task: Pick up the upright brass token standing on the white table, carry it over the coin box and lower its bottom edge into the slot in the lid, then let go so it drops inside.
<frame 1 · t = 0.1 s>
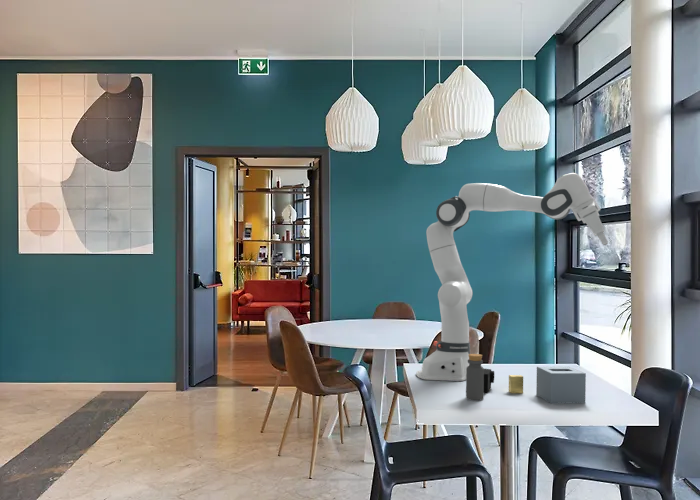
hand: (606, 244, 216), 54 cm above the table, tool tilted 30°, fingers open, 8 cm apart
coin box: (560, 398, 202), on the table
digital camera: (485, 390, 214), on the table
token: (515, 392, 211), on the table
bottle: (474, 399, 200), on the table
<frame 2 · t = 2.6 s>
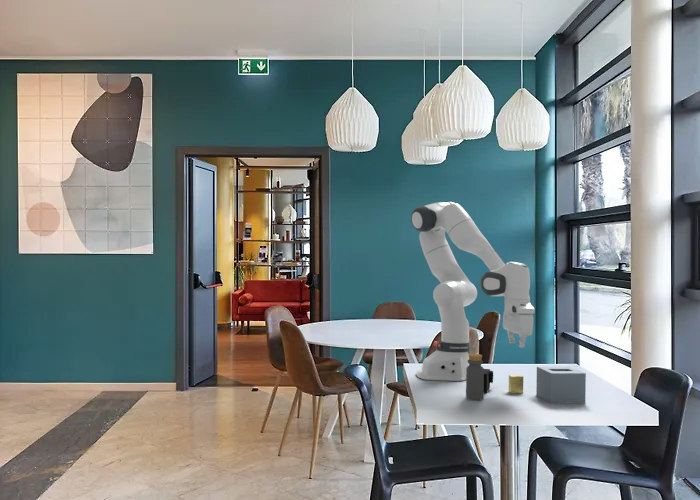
hand: (516, 345, 211), 17 cm above the table, tool pointing down, fingers open, 8 cm apart
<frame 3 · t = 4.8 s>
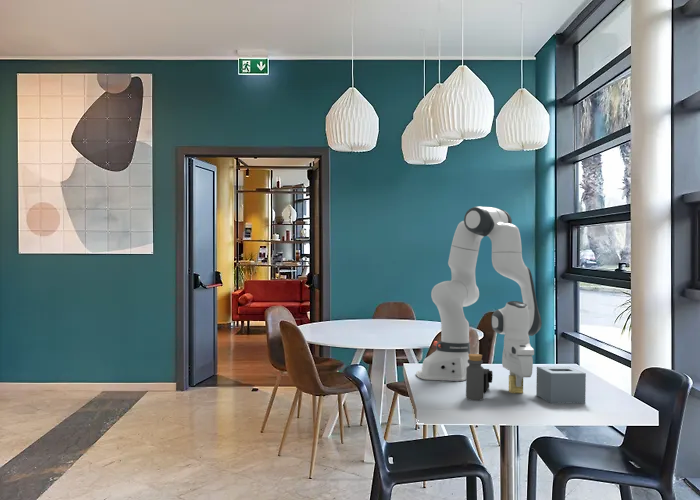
hand: (515, 385, 211), 3 cm above the table, tool pointing down, fingers closed on token, 2 cm apart
token: (515, 392, 211), on the table, touching gripper
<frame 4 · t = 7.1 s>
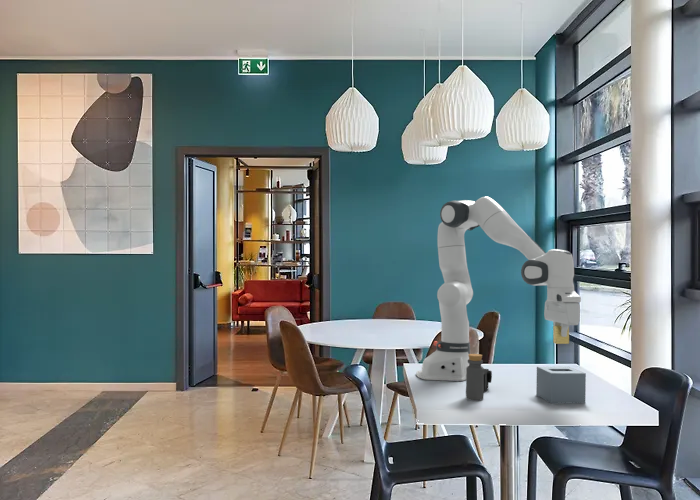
hand: (560, 335, 202), 22 cm above the table, tool pointing down, fingers closed on token, 2 cm apart
token: (561, 343, 202), point 19 cm above the table, touching gripper
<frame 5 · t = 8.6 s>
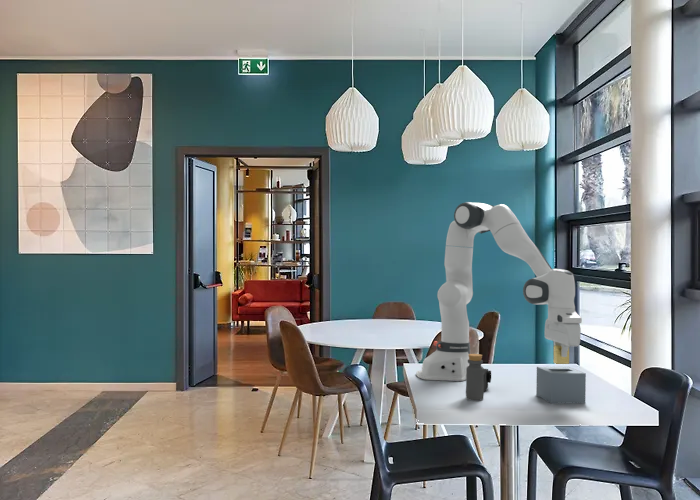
hand: (561, 355, 202), 15 cm above the table, tool pointing down, fingers closed on token, 2 cm apart
token: (561, 363, 202), point 12 cm above the table, touching gripper
when the fingers open (12 cm above the table, at t = 9.6 s): token drops 9 cm, resting in coin box.
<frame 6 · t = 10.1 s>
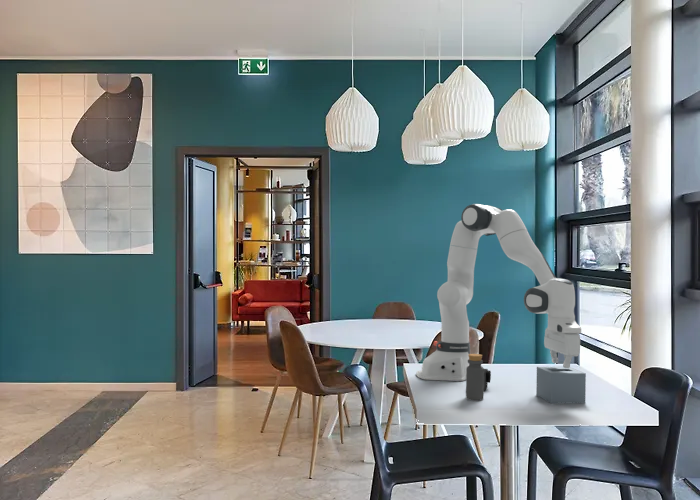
hand: (560, 365, 202), 12 cm above the table, tool pointing down, fingers open, 8 cm apart
token: (560, 399, 202), resting in coin box
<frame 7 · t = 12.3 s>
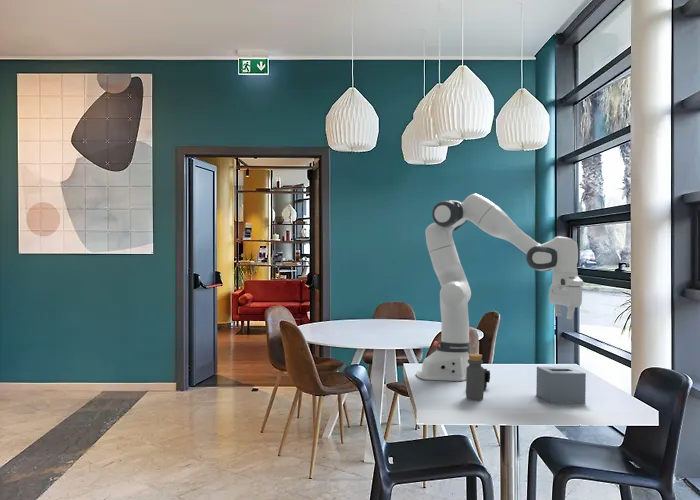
hand: (563, 317, 216), 27 cm above the table, tool pointing down, fingers open, 8 cm apart
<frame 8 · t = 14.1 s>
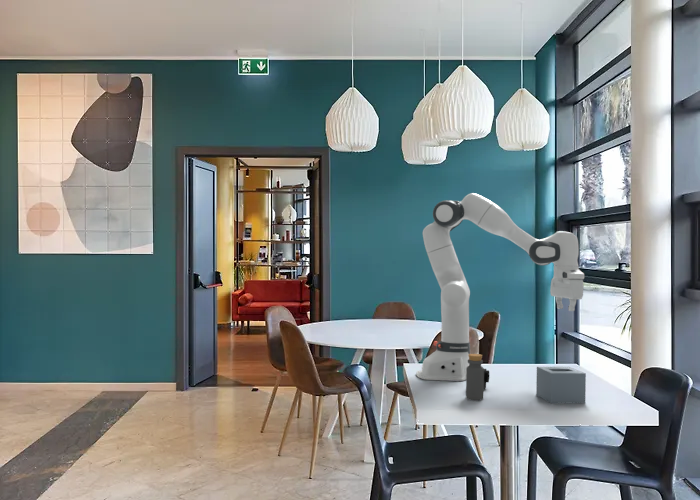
hand: (565, 309, 223), 29 cm above the table, tool pointing down, fingers open, 8 cm apart
at the end: token inside the target area on the coin box (0.1 cm from its centre), point 0.0 cm above the coin box's base; the gripper is holding nothing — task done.
